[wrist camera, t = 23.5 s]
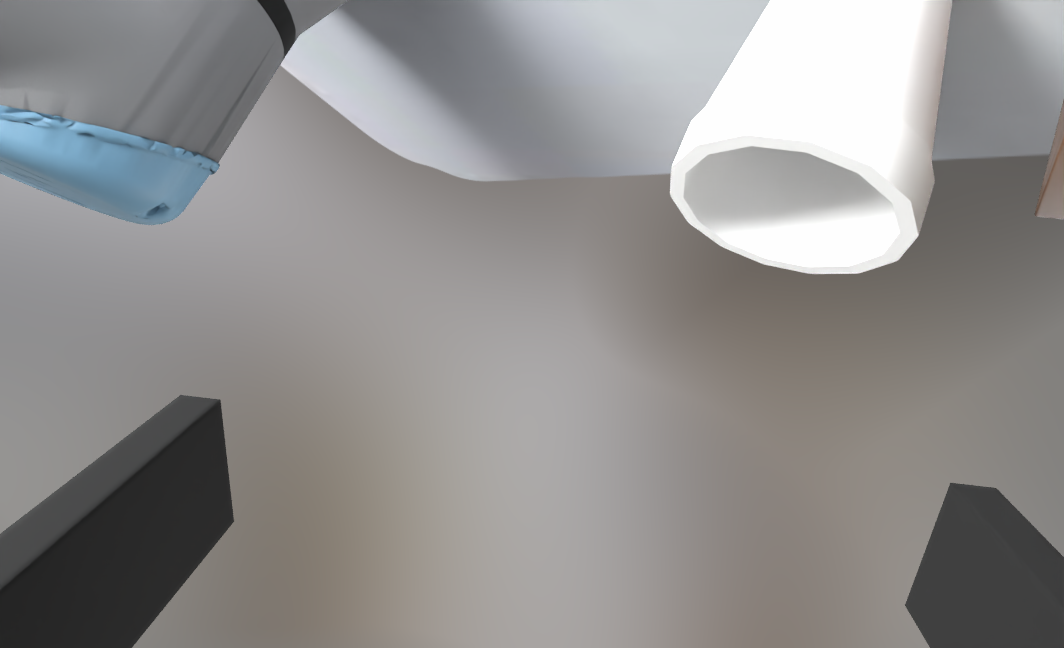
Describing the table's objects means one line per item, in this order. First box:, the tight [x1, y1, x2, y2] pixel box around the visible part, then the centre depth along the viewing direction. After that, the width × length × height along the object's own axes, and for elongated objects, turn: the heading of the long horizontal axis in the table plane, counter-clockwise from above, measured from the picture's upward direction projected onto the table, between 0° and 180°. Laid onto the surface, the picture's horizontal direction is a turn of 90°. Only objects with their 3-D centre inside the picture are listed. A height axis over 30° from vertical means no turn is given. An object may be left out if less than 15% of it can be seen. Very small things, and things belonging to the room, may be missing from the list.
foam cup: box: [670, 0, 952, 274], centre depth 27 cm, size 10×9×13 cm
